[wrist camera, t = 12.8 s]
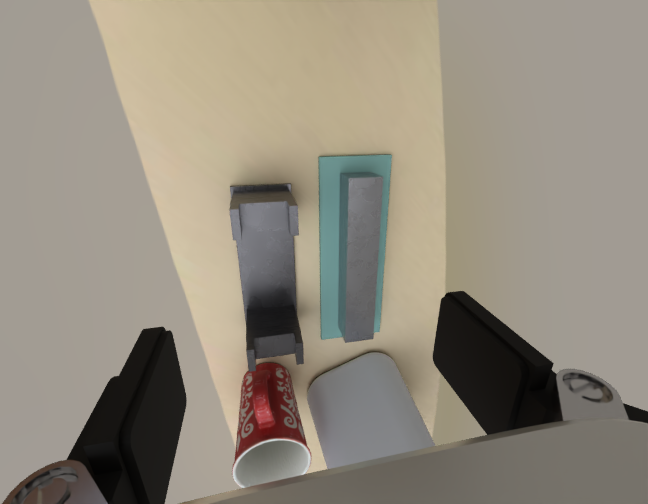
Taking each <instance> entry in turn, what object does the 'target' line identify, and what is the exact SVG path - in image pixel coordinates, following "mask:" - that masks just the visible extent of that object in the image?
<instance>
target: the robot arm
mask: <svg viewBox="0 0 648 504" xmlns="http://www.w3.org/2000/svg"><path fill="white" fill-rule="evenodd" d="M433 361H434V364H435V366H436V367H437V368H438V370H439V371H440V372H441V374H442V375H443V376H444V378H445V379H446V380H447V382H448V383H449V384H450V386H451V387H452V388H453V390H454V391H455V392H456V394H457V395H458V396H459V398H460V399H461V400H462V401H463V403H464V404H465V406H466V407H467V408H468V410H469V411H470V412H471V414H472V415H473V416H474V418H475V419H476V420H477V422H478V423H479V424H480V426H481V427H482V428H483V430H484V431H485V432H486V433H487V435H485V436H480V437H476V438H471V439H466V440H461V441H457V442H452V443H447V444H443V445H438V446H433V447H428V448H423V449H419V450H414V451H409V452H405V453H400V454H395V455H391V456H386V457H381V458H377V459H372V460H368V461H363V462H358V463H354V464H349V465H345V466H340V467H335V468H331V469H326V470H322V471H317V472H313V473H308V474H304V475H299V476H295V477H290V478H286V479H281V480H277V481H272V482H268V483H263V484H259V485H254V486H250V487H245V488H241V489H237V490H233V491H229V492H225V493H220V494H216V495H212V496H208V497H204V498H200V499H195V500H191V501H187V502H183V503H179V504H648V412H647V411H645V410H641V409H639V408H636V407H633V406H629V405H627V404H623V403H622V400H621V398H620V396H619V394H618V392H617V391H616V390H615V389H614V388H613V387H612V386H611V385H610V384H609V383H607V382H606V381H604V380H603V379H601V378H599V377H597V376H595V375H593V374H591V373H588V372H585V371H582V370H577V369H563V370H561V371H559V372H558V373H557V374H556V373H554V372H553V371H552V367H553V363H552V362H551V361H550V360H549V359H547V358H546V357H545V356H544V355H542V354H541V353H540V352H539V351H537V350H536V349H535V348H534V347H532V346H531V345H530V344H529V343H527V342H526V341H525V340H524V339H522V338H521V337H520V336H519V335H518V334H516V333H515V332H514V331H512V330H511V329H510V328H509V327H508V326H506V325H505V324H504V323H503V322H501V321H500V320H499V319H497V318H496V317H495V316H494V315H493V314H491V313H490V312H489V311H488V310H486V309H485V308H484V307H483V306H481V305H480V304H479V303H478V302H477V301H475V300H474V299H473V298H472V297H470V296H469V295H468V294H467V293H465V292H464V291H458V292H450V293H446V295H445V297H443V298H442V299H441V304H440V311H439V317H438V324H437V331H436V338H435V344H434V351H433ZM185 409H186V393H185V388H184V384H183V379H182V375H181V371H180V366H179V361H178V357H177V352H176V348H175V343H174V339H173V335H172V332H171V331H166V330H165V328H164V327H157V328H149V329H143V330H142V332H141V334H140V336H139V338H138V340H137V342H136V344H135V345H134V347H133V349H132V352H131V353H130V355H129V357H128V359H127V361H126V363H125V365H124V367H123V369H122V371H121V373H120V375H119V376H115V377H113V378H111V379H110V381H109V382H108V384H107V386H106V387H105V389H104V391H103V393H102V395H101V397H100V399H99V401H98V402H97V404H96V406H95V408H94V410H93V412H92V413H91V415H90V417H89V419H88V421H87V423H86V425H85V426H84V429H83V430H82V432H81V434H80V436H79V438H78V439H77V441H76V443H75V445H74V447H73V449H72V451H71V453H70V454H69V456H68V458H67V460H64V461H58V462H55V463H52V464H50V465H47V466H45V467H43V468H41V469H39V470H37V471H36V472H34V473H33V474H31V475H30V476H28V477H27V478H26V479H24V480H23V481H22V482H20V483H19V485H17V486H16V488H14V489H13V490H12V491H11V492H10V493H9V495H8V496H7V498H6V499H5V500H4V502H3V503H2V504H164V503H165V499H166V494H167V490H168V485H169V480H170V476H171V472H172V467H173V463H174V458H175V454H176V449H177V444H178V440H179V436H180V431H181V427H182V422H183V417H184V413H185Z"/></svg>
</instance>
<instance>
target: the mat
mask: <svg viewBox="0 0 648 504" xmlns="http://www.w3.org/2000/svg"><path fill="white" fill-rule="evenodd" d="M391 158H392V155H358V156H325V157H319V226H320V304H321V339H322V340H324V339H331V338H338V337H343V336H342V334H341V332H340V329H339V327H338V281H339V198H340V173H351V172H373V173H375V174H378V175H380V176H382V177H383V191H382V207H381V223H380V239H379V255H378V271H377V287H376V303H375V319H374V333H375V332H380V317H381V303H382V288H383V274H384V259H385V245H386V231H387V216H388V202H389V187H390V173H391Z"/></svg>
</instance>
